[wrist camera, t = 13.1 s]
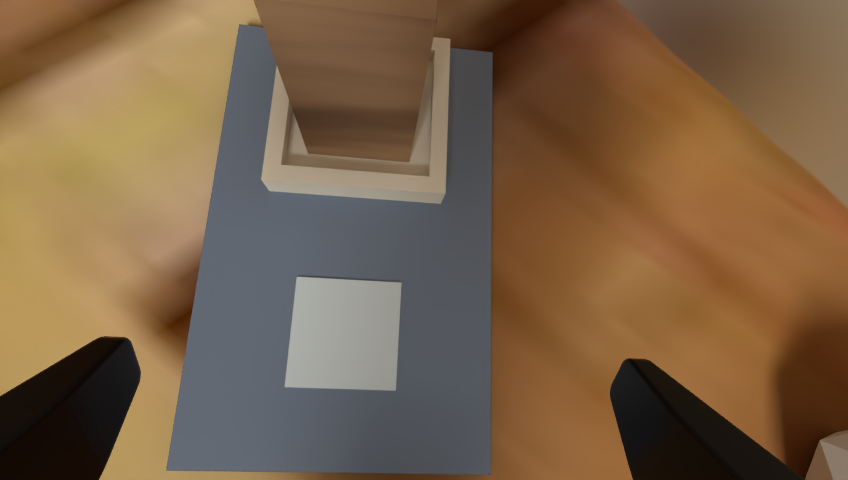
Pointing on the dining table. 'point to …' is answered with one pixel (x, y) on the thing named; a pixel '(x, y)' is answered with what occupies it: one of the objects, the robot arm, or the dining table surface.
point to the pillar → (353, 71)
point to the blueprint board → (343, 289)
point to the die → (830, 458)
